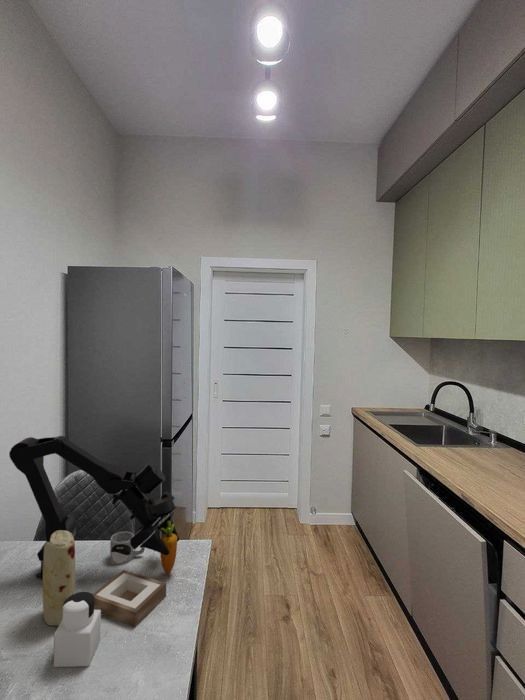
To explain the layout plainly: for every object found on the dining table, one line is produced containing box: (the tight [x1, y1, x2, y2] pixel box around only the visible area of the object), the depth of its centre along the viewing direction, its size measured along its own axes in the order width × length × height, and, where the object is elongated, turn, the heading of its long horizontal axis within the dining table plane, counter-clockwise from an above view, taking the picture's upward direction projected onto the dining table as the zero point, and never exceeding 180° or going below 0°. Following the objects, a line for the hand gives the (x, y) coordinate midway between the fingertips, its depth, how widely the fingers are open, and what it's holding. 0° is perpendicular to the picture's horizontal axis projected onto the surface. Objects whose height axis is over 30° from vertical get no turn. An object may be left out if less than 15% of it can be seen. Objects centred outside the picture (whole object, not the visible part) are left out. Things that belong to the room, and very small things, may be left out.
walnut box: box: [91, 569, 167, 628], centre depth 99 cm, size 14×12×4 cm
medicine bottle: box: [53, 591, 102, 668], centre depth 83 cm, size 7×7×12 cm
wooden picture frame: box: [96, 573, 160, 608], centre depth 99 cm, size 12×10×3 cm
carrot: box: [159, 521, 178, 576], centre depth 112 cm, size 5×5×15 cm
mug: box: [109, 531, 145, 566], centre depth 119 cm, size 10×7×7 cm
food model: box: [42, 530, 76, 627], centre depth 93 cm, size 10×7×20 cm
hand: (173, 547), depth 111 cm, fingers open, 7 cm apart
